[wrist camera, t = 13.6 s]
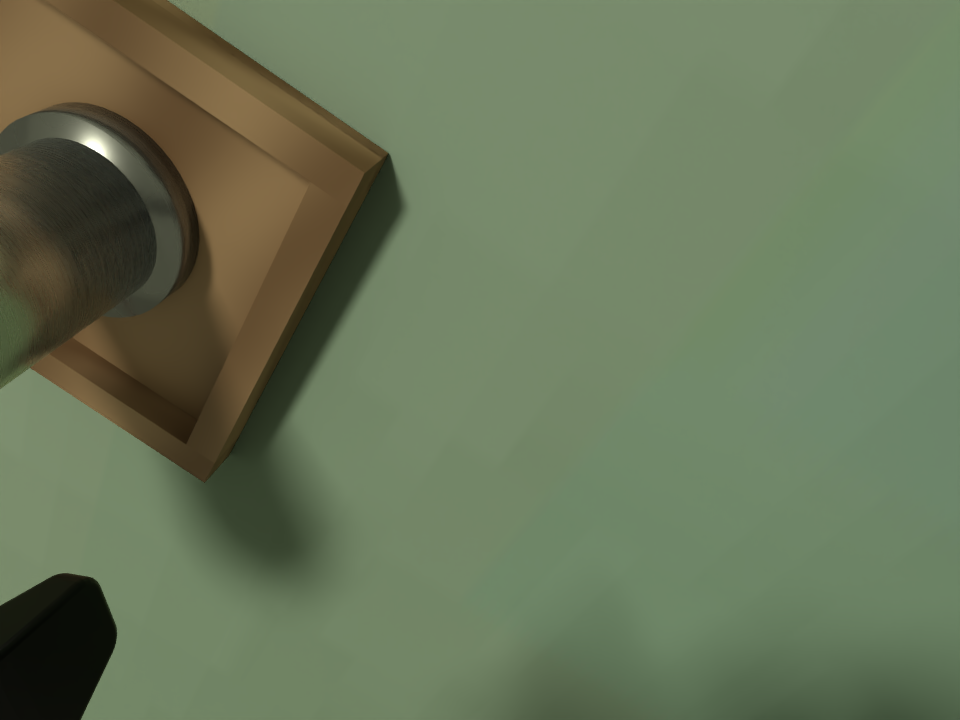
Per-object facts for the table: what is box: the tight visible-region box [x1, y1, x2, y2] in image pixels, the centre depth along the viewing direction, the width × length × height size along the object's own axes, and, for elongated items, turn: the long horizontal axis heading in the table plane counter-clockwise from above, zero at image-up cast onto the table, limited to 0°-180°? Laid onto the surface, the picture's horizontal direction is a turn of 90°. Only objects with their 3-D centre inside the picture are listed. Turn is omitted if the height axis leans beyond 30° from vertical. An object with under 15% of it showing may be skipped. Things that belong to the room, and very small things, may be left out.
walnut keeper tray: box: [0, 0, 389, 483], centre depth 23 cm, size 12×12×1 cm
